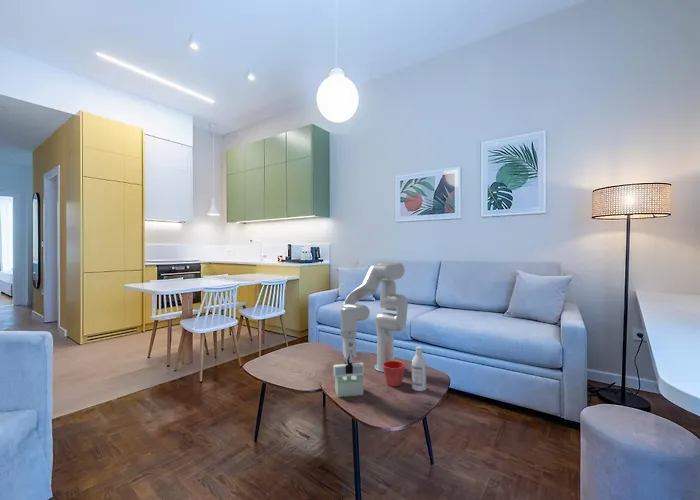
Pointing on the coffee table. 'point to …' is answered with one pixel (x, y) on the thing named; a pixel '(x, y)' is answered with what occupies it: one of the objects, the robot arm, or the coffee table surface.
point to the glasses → (341, 370)
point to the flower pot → (393, 372)
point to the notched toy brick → (349, 385)
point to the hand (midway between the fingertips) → (348, 371)
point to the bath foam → (418, 371)
